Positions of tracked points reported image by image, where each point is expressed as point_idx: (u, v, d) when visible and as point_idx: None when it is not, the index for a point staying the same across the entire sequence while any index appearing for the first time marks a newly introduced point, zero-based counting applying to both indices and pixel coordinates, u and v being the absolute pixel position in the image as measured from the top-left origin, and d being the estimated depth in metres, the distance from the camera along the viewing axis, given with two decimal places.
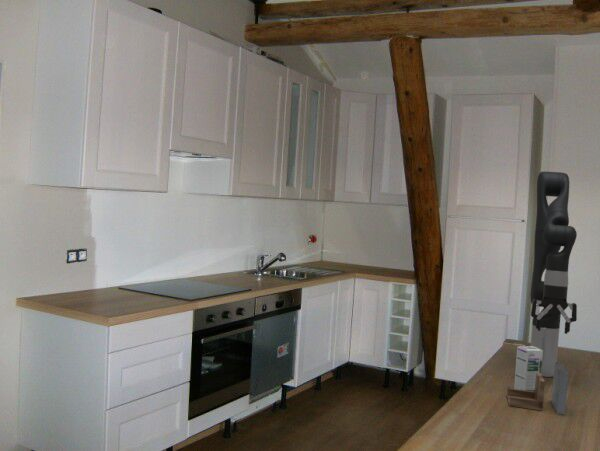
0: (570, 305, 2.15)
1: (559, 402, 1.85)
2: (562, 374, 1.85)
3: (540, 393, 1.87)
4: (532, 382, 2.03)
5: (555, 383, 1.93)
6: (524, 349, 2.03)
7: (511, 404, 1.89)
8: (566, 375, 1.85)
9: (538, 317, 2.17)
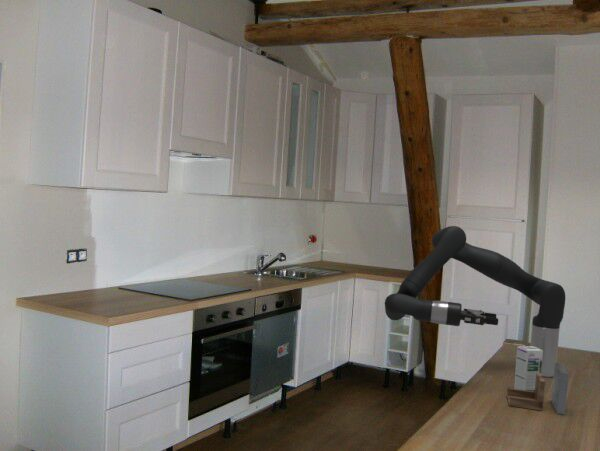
0: None
1: (559, 402, 1.85)
2: (562, 374, 1.85)
3: (540, 393, 1.87)
4: (532, 382, 2.03)
5: (555, 383, 1.93)
6: (524, 349, 2.03)
7: (511, 404, 1.89)
8: (566, 375, 1.85)
9: None
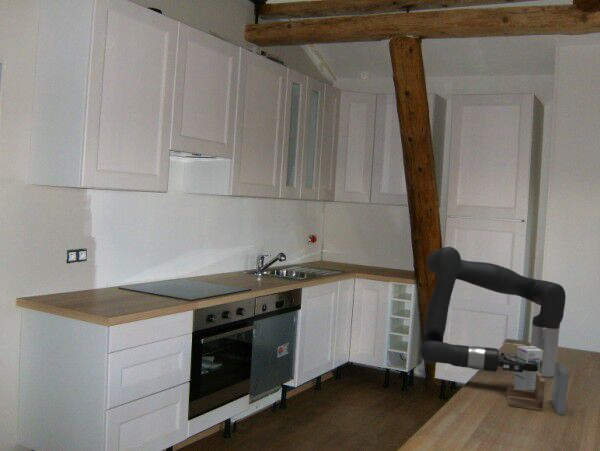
0: None
1: (559, 402, 1.85)
2: (562, 374, 1.85)
3: (540, 393, 1.87)
4: (532, 382, 2.03)
5: (555, 383, 1.93)
6: (524, 349, 2.03)
7: (511, 404, 1.89)
8: (566, 375, 1.85)
9: None
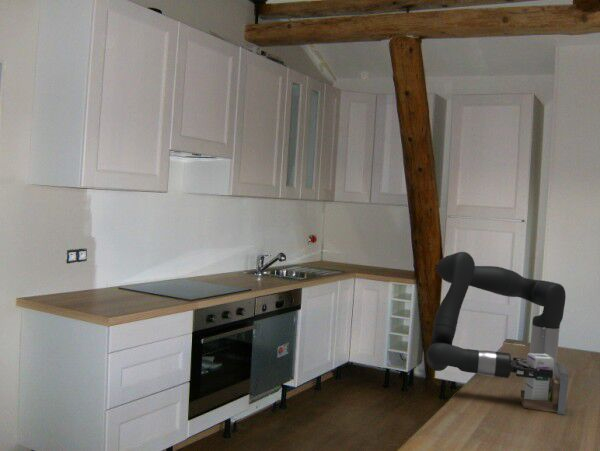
0: None
1: (559, 402, 1.85)
2: (562, 374, 1.85)
3: (554, 395, 1.86)
4: (542, 392, 1.90)
5: None
6: (533, 356, 1.91)
7: (525, 406, 1.88)
8: (566, 375, 1.85)
9: None
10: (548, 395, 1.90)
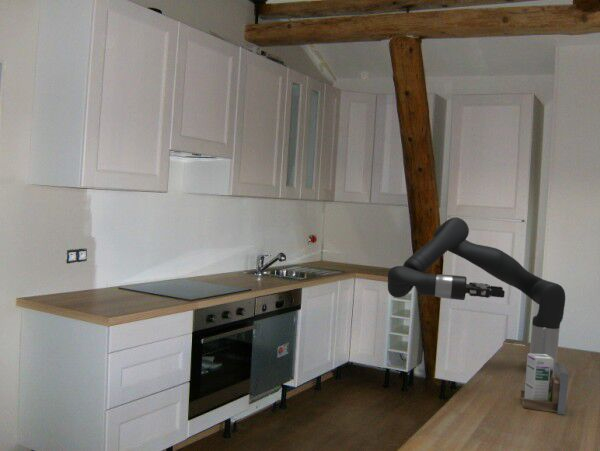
0: None
1: (559, 402, 1.85)
2: (562, 374, 1.85)
3: (555, 395, 1.86)
4: (542, 392, 1.90)
5: None
6: (533, 356, 1.91)
7: (525, 406, 1.88)
8: (566, 375, 1.85)
9: None
10: (548, 395, 1.90)
